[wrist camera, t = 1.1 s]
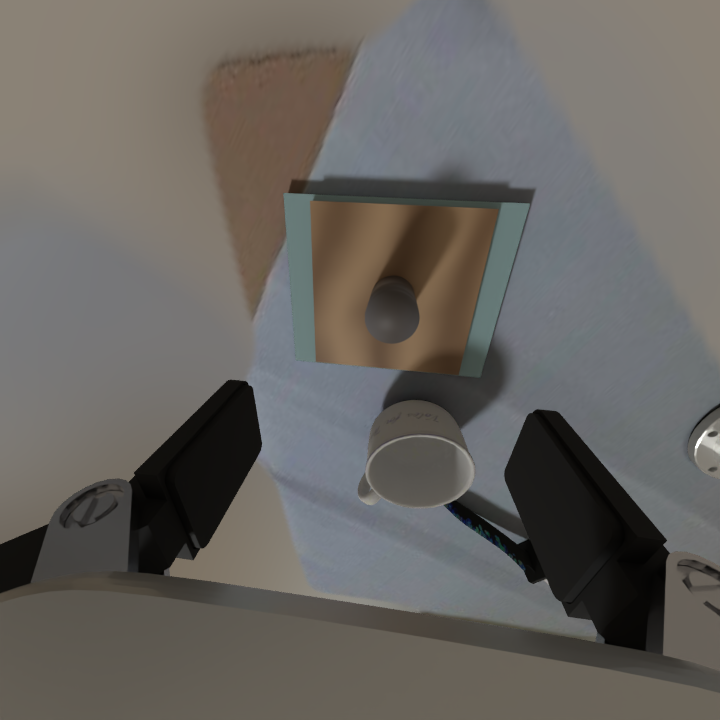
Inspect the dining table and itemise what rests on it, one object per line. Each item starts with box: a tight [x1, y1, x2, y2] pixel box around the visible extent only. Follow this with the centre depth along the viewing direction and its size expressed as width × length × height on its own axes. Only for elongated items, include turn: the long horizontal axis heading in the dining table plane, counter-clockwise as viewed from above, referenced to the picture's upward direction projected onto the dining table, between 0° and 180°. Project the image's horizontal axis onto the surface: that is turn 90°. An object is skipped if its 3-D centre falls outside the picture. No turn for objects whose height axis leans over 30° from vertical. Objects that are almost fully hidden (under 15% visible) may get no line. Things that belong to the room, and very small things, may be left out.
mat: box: [284, 193, 530, 378], centre depth 27 cm, size 20×16×1 cm
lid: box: [310, 201, 499, 375], centre depth 23 cm, size 15×15×7 cm
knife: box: [444, 500, 592, 620], centre depth 40 cm, size 31×3×4 cm, turn 51°
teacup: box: [358, 400, 475, 508], centre depth 31 cm, size 14×11×8 cm
